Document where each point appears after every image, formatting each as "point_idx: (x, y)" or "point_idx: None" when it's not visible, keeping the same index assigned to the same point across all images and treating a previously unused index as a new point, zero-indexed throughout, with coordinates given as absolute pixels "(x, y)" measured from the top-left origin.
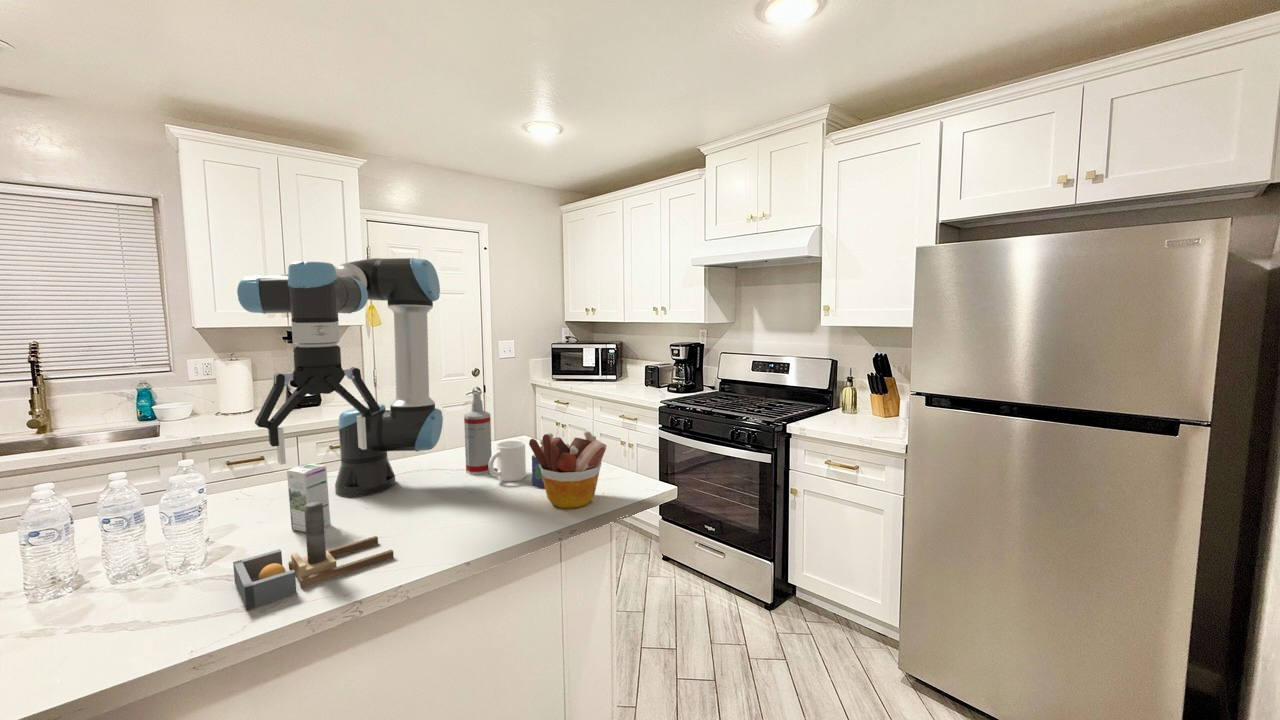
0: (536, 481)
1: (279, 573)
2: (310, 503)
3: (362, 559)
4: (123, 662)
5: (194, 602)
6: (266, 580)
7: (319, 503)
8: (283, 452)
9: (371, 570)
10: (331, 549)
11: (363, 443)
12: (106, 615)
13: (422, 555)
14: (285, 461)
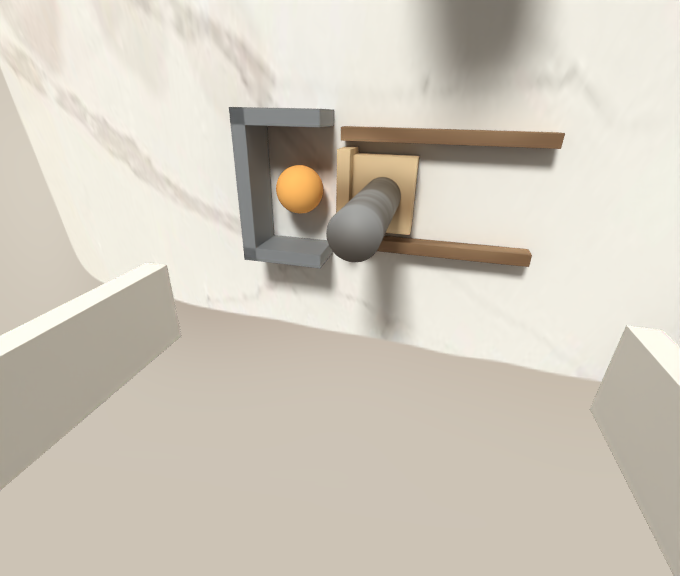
0: None
1: (307, 211)
2: (350, 212)
3: (459, 252)
4: (147, 260)
5: (197, 143)
6: (275, 261)
7: (371, 237)
8: (129, 373)
9: (462, 274)
10: (436, 133)
11: (617, 446)
12: (87, 76)
13: (574, 297)
14: (172, 343)
